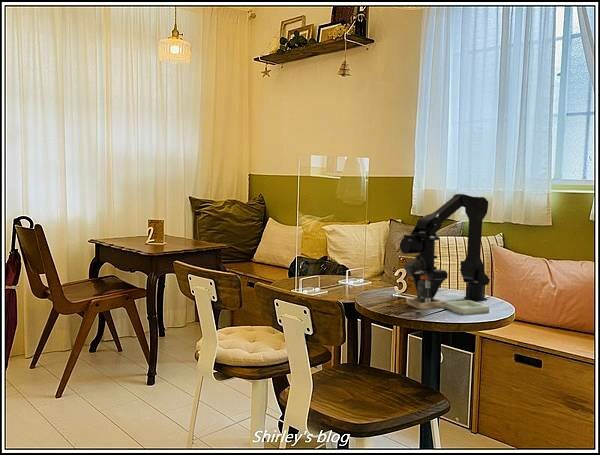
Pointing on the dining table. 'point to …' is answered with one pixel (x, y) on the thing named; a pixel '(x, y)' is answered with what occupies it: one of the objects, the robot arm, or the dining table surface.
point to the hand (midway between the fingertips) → (425, 294)
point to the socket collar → (427, 305)
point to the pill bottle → (424, 290)
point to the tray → (466, 307)
